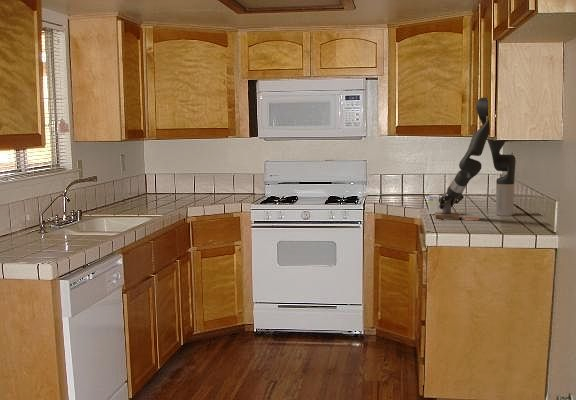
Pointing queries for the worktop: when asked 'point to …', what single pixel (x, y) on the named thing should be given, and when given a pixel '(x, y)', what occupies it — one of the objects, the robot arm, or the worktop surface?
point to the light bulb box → (434, 204)
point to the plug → (446, 207)
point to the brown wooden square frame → (447, 216)
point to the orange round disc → (470, 218)
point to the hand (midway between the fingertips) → (444, 207)
